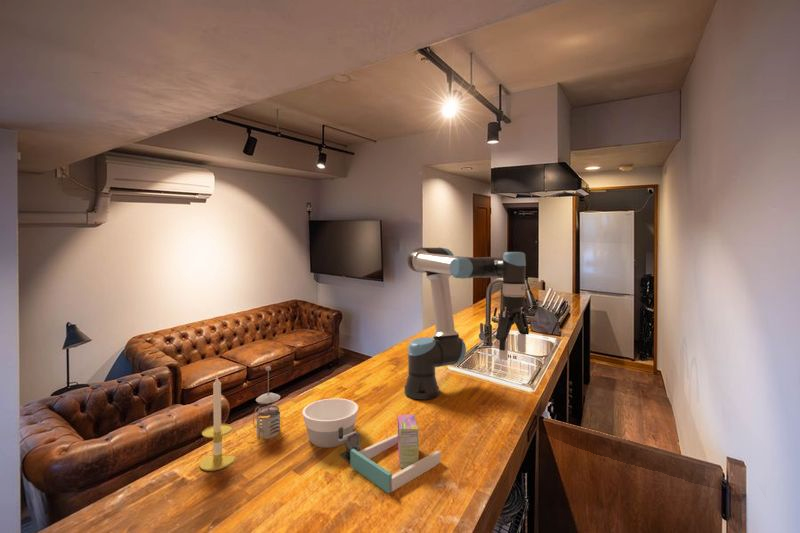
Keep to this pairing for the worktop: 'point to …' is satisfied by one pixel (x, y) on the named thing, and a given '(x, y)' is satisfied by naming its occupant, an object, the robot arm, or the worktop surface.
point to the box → (408, 440)
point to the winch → (349, 442)
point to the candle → (216, 435)
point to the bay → (382, 476)
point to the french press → (268, 413)
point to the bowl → (329, 420)
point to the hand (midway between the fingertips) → (512, 355)
